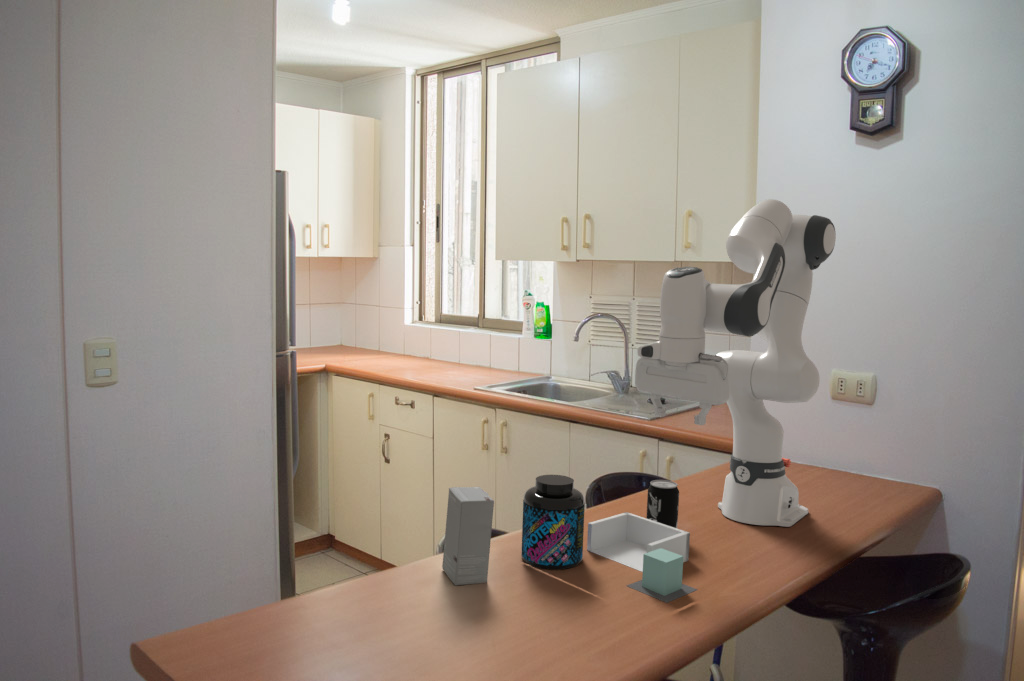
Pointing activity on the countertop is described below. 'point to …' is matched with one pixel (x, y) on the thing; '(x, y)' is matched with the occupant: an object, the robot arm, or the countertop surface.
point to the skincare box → (468, 535)
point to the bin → (634, 539)
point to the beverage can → (663, 502)
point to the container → (553, 523)
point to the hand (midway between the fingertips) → (679, 420)
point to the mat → (666, 598)
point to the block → (662, 571)
